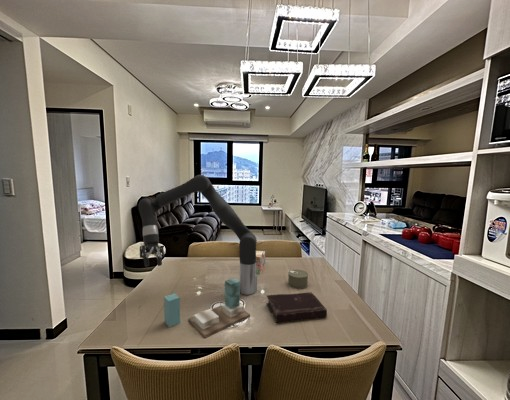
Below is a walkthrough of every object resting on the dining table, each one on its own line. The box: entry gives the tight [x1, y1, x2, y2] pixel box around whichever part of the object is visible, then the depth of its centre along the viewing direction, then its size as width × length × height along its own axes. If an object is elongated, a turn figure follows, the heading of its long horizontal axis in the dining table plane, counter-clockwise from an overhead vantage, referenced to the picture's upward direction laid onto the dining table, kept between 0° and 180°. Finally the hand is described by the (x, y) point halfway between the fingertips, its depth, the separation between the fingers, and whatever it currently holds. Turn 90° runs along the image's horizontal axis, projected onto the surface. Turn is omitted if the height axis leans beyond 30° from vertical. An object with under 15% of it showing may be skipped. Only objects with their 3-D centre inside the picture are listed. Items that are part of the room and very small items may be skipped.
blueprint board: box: [187, 277, 251, 339], centre depth 114 cm, size 24×15×16 cm, turn 131°
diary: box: [266, 291, 328, 324], centre depth 123 cm, size 19×25×5 cm
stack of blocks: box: [256, 250, 266, 275], centre depth 177 cm, size 21×6×12 cm, turn 169°
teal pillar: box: [163, 292, 181, 328], centre depth 111 cm, size 5×5×12 cm
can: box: [287, 269, 309, 289], centre depth 152 cm, size 12×12×7 cm
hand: (153, 266), depth 127 cm, fingers open, 8 cm apart
